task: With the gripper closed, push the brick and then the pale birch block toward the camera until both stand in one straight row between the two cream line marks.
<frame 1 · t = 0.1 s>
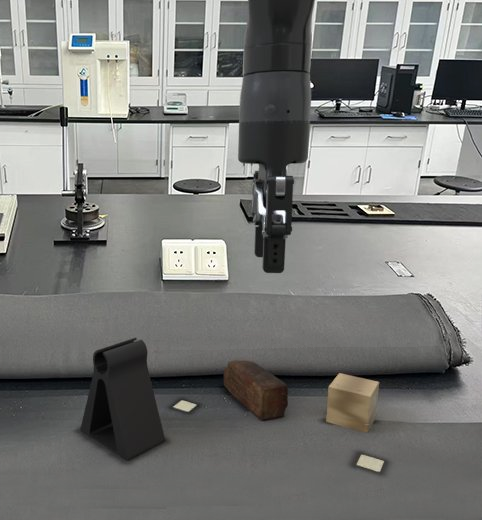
hand: (267, 264, 61), 21 cm above the countertop, tool pointing down, fingers open, 8 cm apart
brick: (253, 403, 73), on the countertop
line marks: (273, 434, 65), on the countertop
phone stand: (121, 438, 65), on the countertop
birch block: (351, 420, 68), on the countertop
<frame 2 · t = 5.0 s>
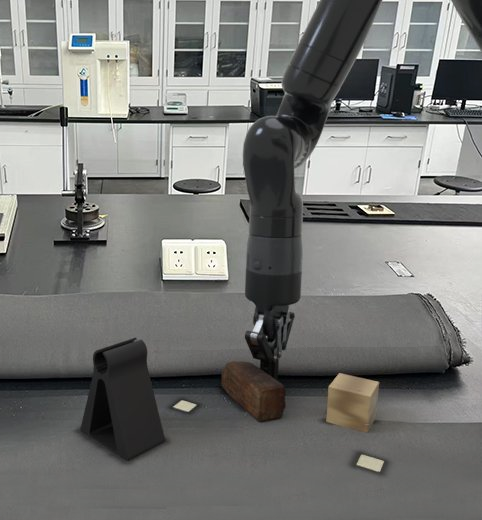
hand: (268, 382, 77), 1 cm above the countertop, tool pointing down, fingers closed
brick: (251, 404, 73), on the countertop, touching gripper
everything else where it was.
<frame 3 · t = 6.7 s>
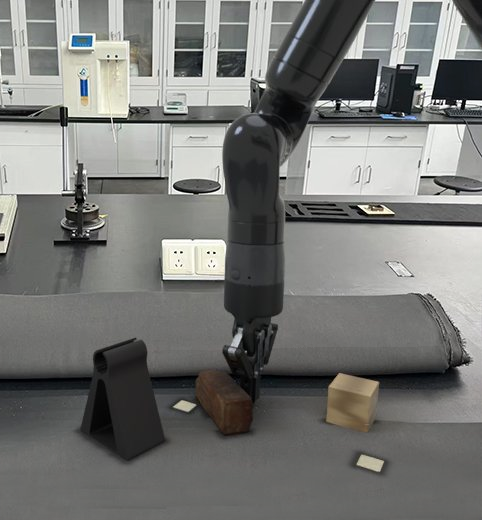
hand: (249, 399, 72), 1 cm above the countertop, tool pointing down, fingers closed
brick: (222, 416, 70), on the countertop, touching gripper
everything else where it was.
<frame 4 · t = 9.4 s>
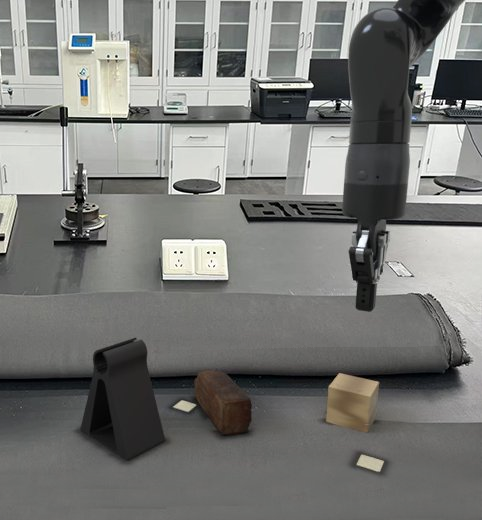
hand: (365, 309, 72), 13 cm above the countertop, tool pointing down, fingers closed
brick: (220, 416, 70), on the countertop
everything else where it was.
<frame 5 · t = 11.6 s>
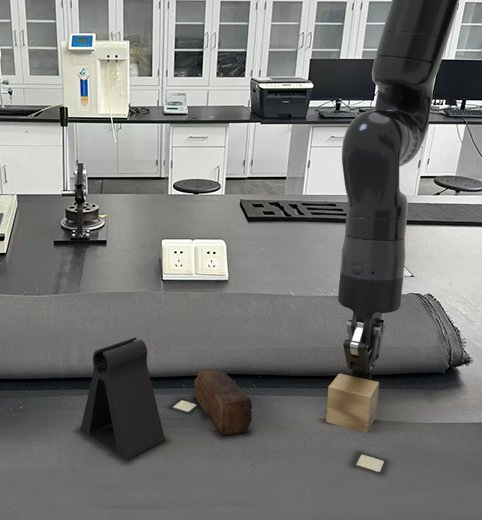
hand: (360, 394, 72), 2 cm above the countertop, tool pointing down, fingers closed
birch block: (351, 420, 68), on the countertop, touching gripper
everything else where it was.
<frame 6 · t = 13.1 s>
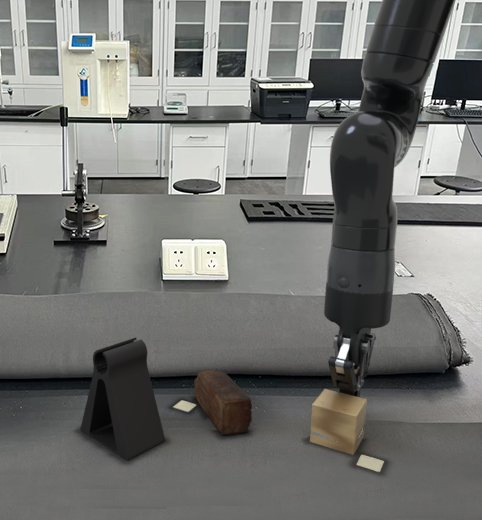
hand: (347, 413, 68), 1 cm above the countertop, tool pointing down, fingers closed
birch block: (336, 439, 64), on the countertop, touching gripper
everything else where it was.
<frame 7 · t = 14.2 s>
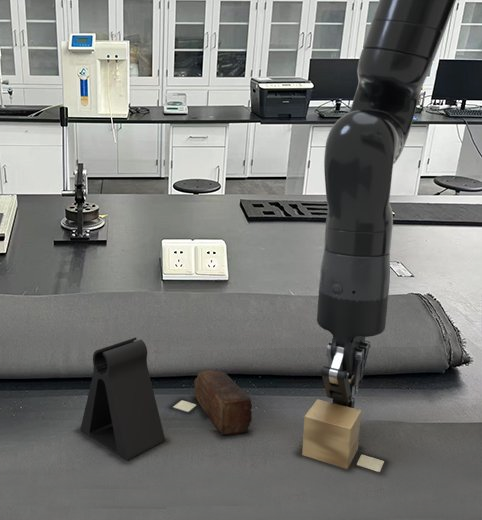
hand: (341, 424, 65), 1 cm above the countertop, tool pointing down, fingers closed
birch block: (330, 452, 61), on the countertop, touching gripper
everything else where it was.
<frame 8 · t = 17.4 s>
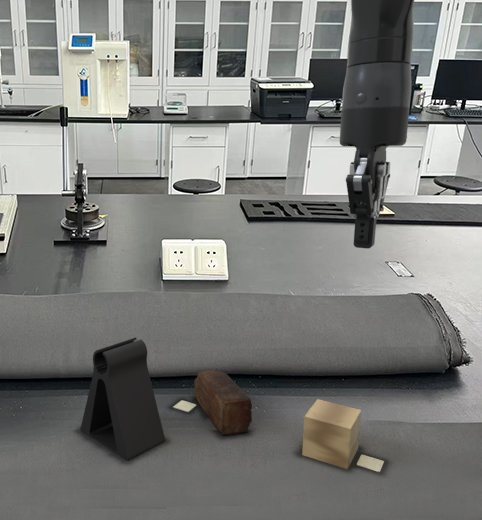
hand: (363, 246, 68), 22 cm above the countertop, tool pointing down, fingers closed
birch block: (330, 452, 61), on the countertop
everything else where it was.
at the end: brick inside the target area (2.6 cm from its centre), on the countertop; birch block inside the target area (0.3 cm from its centre), on the countertop; birch block inside the target area on the countertop beside the brick (3.4 cm from its centre), on the countertop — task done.
